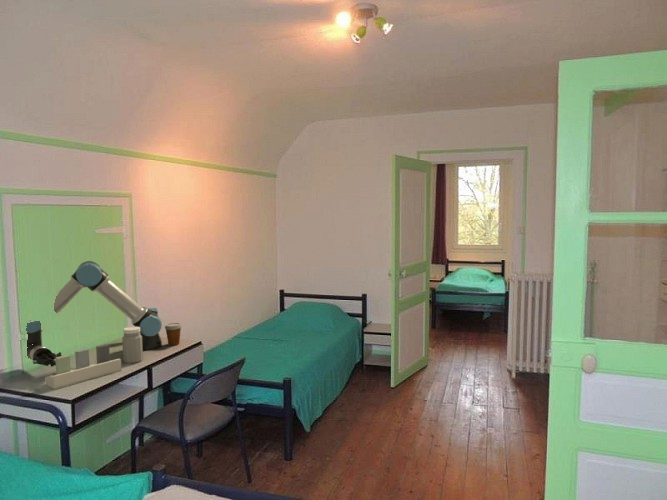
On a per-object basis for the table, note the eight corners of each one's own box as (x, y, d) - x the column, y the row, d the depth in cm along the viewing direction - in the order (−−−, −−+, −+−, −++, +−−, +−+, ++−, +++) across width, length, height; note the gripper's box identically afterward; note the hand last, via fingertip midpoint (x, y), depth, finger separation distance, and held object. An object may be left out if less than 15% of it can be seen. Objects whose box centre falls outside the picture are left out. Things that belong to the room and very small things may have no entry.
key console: (45, 384, 218) (44, 371, 218) (111, 366, 242) (110, 355, 242) (54, 389, 212) (54, 376, 211) (121, 370, 236) (120, 359, 236)
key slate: (76, 375, 227) (75, 351, 226) (87, 372, 231) (85, 348, 230) (79, 376, 225) (77, 352, 224) (89, 373, 229) (88, 349, 228)
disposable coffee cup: (176, 346, 277) (176, 326, 276) (162, 345, 279) (161, 326, 278) (185, 342, 286) (184, 323, 285) (171, 341, 288) (170, 322, 287)
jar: (138, 357, 258) (137, 325, 256) (146, 361, 251) (144, 328, 249) (120, 361, 251) (118, 328, 249) (127, 365, 244) (126, 331, 242)
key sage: (56, 382, 217) (55, 357, 216) (68, 379, 221) (66, 354, 220) (59, 384, 216) (58, 358, 215) (71, 380, 219) (69, 356, 218)
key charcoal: (97, 369, 235) (96, 346, 234) (107, 366, 239) (106, 344, 238) (100, 370, 233) (98, 347, 232) (110, 368, 237) (108, 345, 236)
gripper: (55, 359, 239) (76, 368, 224) (27, 365, 229) (46, 376, 214) (55, 344, 238) (75, 353, 224) (26, 350, 228) (45, 360, 213)
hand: (61, 364), depth 219 cm, fingers closed
